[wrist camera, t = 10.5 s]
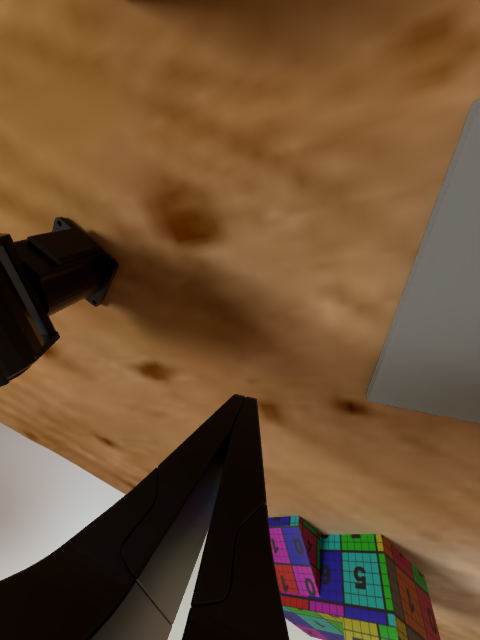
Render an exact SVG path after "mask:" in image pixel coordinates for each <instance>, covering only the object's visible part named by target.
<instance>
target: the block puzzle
mask: <svg viewBox="0 0 480 640" xmlns="http://www.w3.org/2000/svg"><path fill="white" fill-rule="evenodd" d="M268 521H269V530H270V538H271V546H272V552H273V558H274V563H275V569H276V575H277V580H278V585H279V590H280V595H281V600H282V605H283V610H284V615H285V618H286V619H288V620H289V621H290V622H292V623H293V624H294V625H296V626H297V627H298V628H300V629H301V630H302V631H304V632H305V633H307V634H308V635H309V636H311V637H315V638H319V639H323V640H440V636H439V632H438V628H437V624H436V620H435V616H434V612H433V609H432V605H431V601H430V597H429V593H428V589H427V585H426V581H425V577H424V576H423V575H422V574H421V573H420V572H419V571H418V570H417V569H416V568H415V567H414V566H413V565H412V564H411V563H410V562H409V561H408V560H407V559H406V558H405V557H404V556H403V555H402V554H401V553H400V552H399V551H398V550H397V549H396V548H395V547H394V546H392V545H391V544H390V543H389V542H388V541H387V540H386V539H385V538H384V537H383V536H382V535H381V534H352V535H320V534H319V533H318V532H316V531H315V530H314V529H313V528H312V527H311V526H310V525H309V524H307V523H306V522H305V521H304V520H303V519H302V518H301V517H300V516H289V517H273V518H268Z"/></svg>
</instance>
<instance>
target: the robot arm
mask: <svg viewBox="0 0 480 640" xmlns="http://www.w3.org/2000/svg"><path fill="white" fill-rule="evenodd" d="M111 264H112V265H111ZM117 268H118V265H117V263H116V261H115V260H113V259H112V258H111V257H110V256H109V255H108V254H106V253H105V252H104V251H103V250H102V249H100V248H99V247H98V246H97V245H96V244H95V243H93V242H92V241H91V240H90V239H89V238H87V237H86V236H85V235H84V234H83V233H81V232H80V231H79V230H78V229H77V228H76V227H74V226H73V225H72V224H71V223H70V222H68V221H67V220H66V219H65V218H63V217H57V218H55V221H54V226H53V231H52V232H49V233H44V234H39V235H34V236H29V237H27V239H26V240H21V241H16V242H13V240H12V238H11V236H10V234H2V233H0V387H1V386H4V385H6V384H8V383H9V381H10V380H12V379H14V378H16V377H18V376H19V375H21V374H22V373H24V372H25V371H26V370H27V369H28V368H29V367H30V366H31V365H32V364H33V363H34V362H35V361H36V360H37V359H39V358H40V357H41V356H42V355H43V354H44V353H45V352H46V351H47V350H48V349H49V348H50V347H51V346H52V345H53V344H54V343H55V342H56V341H57V340H58V339H59V338H60V336H59V334H58V332H57V331H56V330H55V328H54V326H53V324H52V322H51V320H50V318H49V316H50V315H52V314H54V313H56V312H58V311H60V310H62V309H64V308H66V307H68V306H70V305H72V304H74V303H76V302H78V301H80V300H82V299H84V298H85V299H86V300H87V301H88V302H90V303H91V304H92V305H94V306H96V307H97V306H99V305H101V303H102V301H103V299H104V297H105V294H106V292H107V290H108V288H109V286H110V283H111V281H112V279H113V277H114V275H115V273H116V270H117ZM266 502H267V501H266V491H265V480H264V469H263V458H262V448H261V437H260V426H259V416H258V405H257V399H255V398H251V397H246V398H245V396H242V395H238V394H235V395H233V396H232V397H231V398H230V399H229V400H228V401H227V402H225V403H224V404H223V405H222V406H221V407H220V408H219V409H218V410H217V411H216V412H215V413H214V414H213V415H212V416H211V417H210V418H208V419H207V420H206V421H205V422H204V423H203V424H202V425H201V426H200V427H199V428H198V429H197V430H196V431H195V432H194V433H193V434H191V435H190V436H189V437H188V438H187V439H186V440H185V441H184V442H183V443H182V444H181V445H180V446H179V447H178V448H177V449H175V450H174V451H173V452H172V453H171V454H170V455H169V456H168V457H167V458H166V459H165V460H164V461H163V462H162V463H161V464H160V465H159V466H158V468H155V469H154V470H153V471H152V472H151V473H150V474H149V475H148V476H147V477H146V478H144V479H143V480H142V481H141V482H140V483H139V484H138V485H137V486H136V487H134V488H133V489H132V490H131V491H130V492H129V493H128V494H126V495H125V496H124V497H123V498H121V499H120V500H119V501H118V502H117V503H115V504H114V505H113V506H112V507H110V508H109V509H108V510H107V511H106V512H104V513H103V514H102V515H100V516H99V517H98V518H96V519H95V520H94V521H93V522H91V523H90V524H89V525H88V526H86V527H85V528H84V529H83V530H81V531H80V532H79V533H77V534H76V535H75V536H74V537H72V538H71V539H70V540H69V541H67V542H66V543H65V544H63V545H62V546H61V547H60V548H58V549H57V550H56V551H54V552H53V553H51V554H50V555H48V556H47V557H45V558H44V559H42V560H41V561H39V562H37V563H36V564H34V565H32V566H30V567H29V568H27V569H25V570H22V571H20V572H18V573H16V574H14V575H12V576H10V577H8V578H6V579H4V580H1V581H0V640H167V639H168V636H169V633H170V631H171V628H172V624H173V622H174V620H175V617H176V614H177V612H178V609H179V606H180V604H181V601H182V598H183V595H184V593H185V590H186V588H187V585H188V582H189V580H190V577H191V574H192V572H193V569H194V566H195V563H196V561H197V558H198V555H199V553H200V550H201V547H202V545H203V542H204V539H205V537H206V534H207V531H208V534H207V538H206V543H205V547H204V551H203V555H202V560H201V564H200V568H199V572H198V577H197V581H196V585H195V589H194V593H193V597H192V602H191V608H190V611H189V614H188V618H187V622H186V626H185V630H184V634H183V637H182V640H289V636H288V631H287V626H286V621H285V615H284V610H283V605H282V600H281V595H280V590H279V585H278V580H277V575H276V569H275V563H274V558H273V552H272V546H271V538H270V530H269V521H268V510H267V505H266ZM208 529H209V530H208Z"/></svg>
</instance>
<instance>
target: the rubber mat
mask: <svg viewBox="0 0 480 640" xmlns="http://www.w3.org/2000/svg"><path fill="white" fill-rule="evenodd" d="M366 397H367V401H368V402H373V403H378V404H383V405H388V406H393V407H398V408H403V409H408V410H413V411H418V412H423V413H428V414H433V415H438V416H443V417H448V418H453V419H458V420H463V421H468V422H473V423H478V424H480V99H478V100H476V101H474V102H473V103H472V106H471V109H470V111H469V114H468V117H467V120H466V122H465V125H464V128H463V131H462V133H461V136H460V139H459V141H458V144H457V147H456V150H455V152H454V155H453V158H452V161H451V163H450V166H449V169H448V172H447V174H446V177H445V180H444V182H443V185H442V188H441V191H440V193H439V196H438V199H437V202H436V204H435V207H434V210H433V213H432V215H431V218H430V221H429V224H428V226H427V229H426V232H425V234H424V237H423V240H422V243H421V245H420V248H419V251H418V254H417V256H416V259H415V262H414V265H413V267H412V270H411V273H410V275H409V278H408V281H407V284H406V286H405V289H404V292H403V295H402V297H401V300H400V303H399V306H398V308H397V311H396V314H395V316H394V319H393V322H392V325H391V327H390V330H389V333H388V336H387V338H386V341H385V344H384V347H383V349H382V352H381V355H380V358H379V360H378V363H377V366H376V368H375V371H374V374H373V377H372V379H371V382H370V385H369V388H368V390H367V393H366Z"/></svg>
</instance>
